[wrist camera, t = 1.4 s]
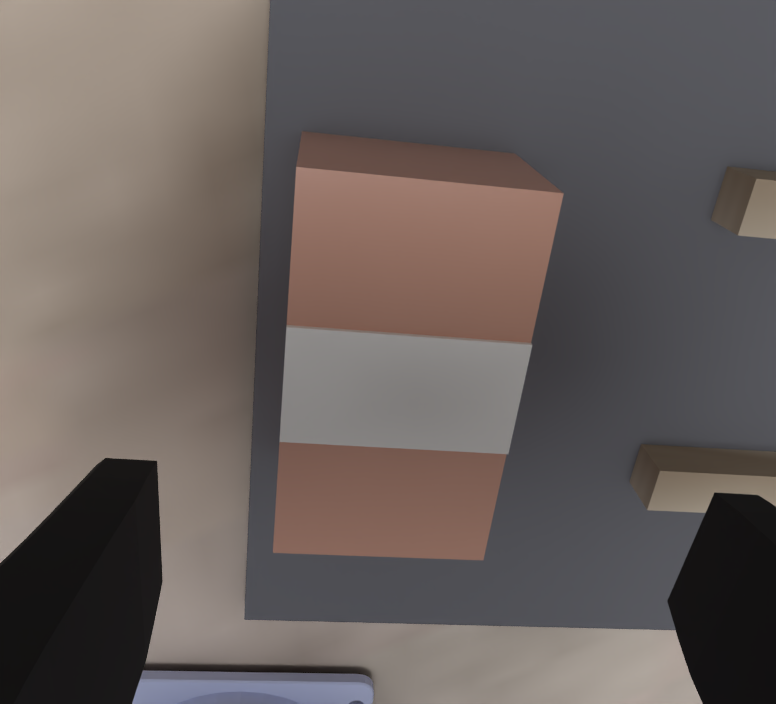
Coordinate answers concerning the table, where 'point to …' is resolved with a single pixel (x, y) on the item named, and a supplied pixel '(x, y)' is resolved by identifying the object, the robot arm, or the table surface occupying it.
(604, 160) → the mat
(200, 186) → the table surface
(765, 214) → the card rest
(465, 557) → the card box
